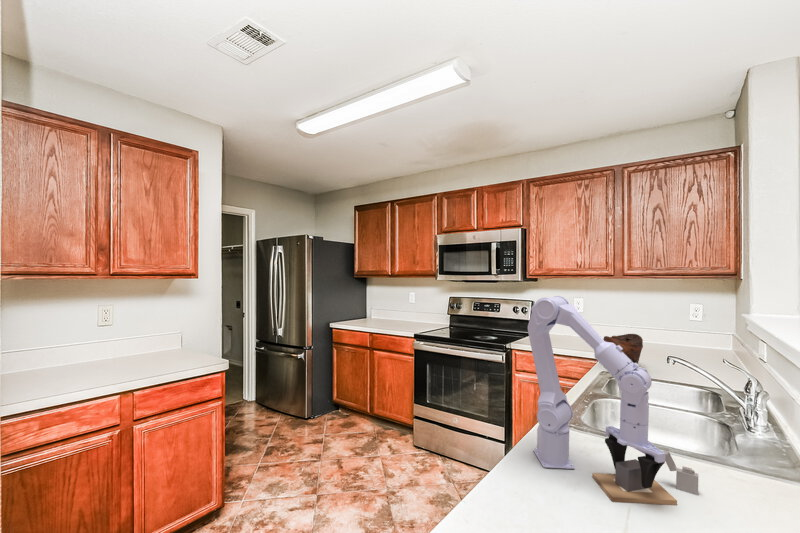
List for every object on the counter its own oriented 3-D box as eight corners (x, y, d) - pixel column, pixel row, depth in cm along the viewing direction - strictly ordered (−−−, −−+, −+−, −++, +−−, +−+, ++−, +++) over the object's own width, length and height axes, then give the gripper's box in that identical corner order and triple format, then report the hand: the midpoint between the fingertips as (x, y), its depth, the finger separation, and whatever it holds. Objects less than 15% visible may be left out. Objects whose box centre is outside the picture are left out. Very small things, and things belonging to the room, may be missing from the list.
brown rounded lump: (597, 368, 199) (599, 334, 199) (606, 361, 214) (608, 329, 214) (637, 376, 187) (639, 339, 187) (644, 368, 203) (646, 334, 202)
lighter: (697, 491, 91) (698, 458, 91) (697, 495, 89) (698, 461, 89) (661, 481, 95) (662, 448, 95) (661, 484, 94) (661, 451, 94)
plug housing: (615, 483, 92) (615, 462, 92) (635, 479, 93) (635, 459, 93) (627, 491, 88) (628, 470, 88) (648, 488, 90) (648, 466, 90)
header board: (592, 476, 96) (592, 465, 96) (650, 479, 96) (650, 468, 96) (612, 501, 86) (612, 489, 86) (677, 505, 86) (677, 492, 86)
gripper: (596, 410, 97) (594, 464, 97) (648, 435, 83) (646, 498, 83) (618, 408, 99) (617, 460, 99) (673, 432, 85) (671, 493, 85)
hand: (632, 477), depth 91 cm, fingers open, 7 cm apart
